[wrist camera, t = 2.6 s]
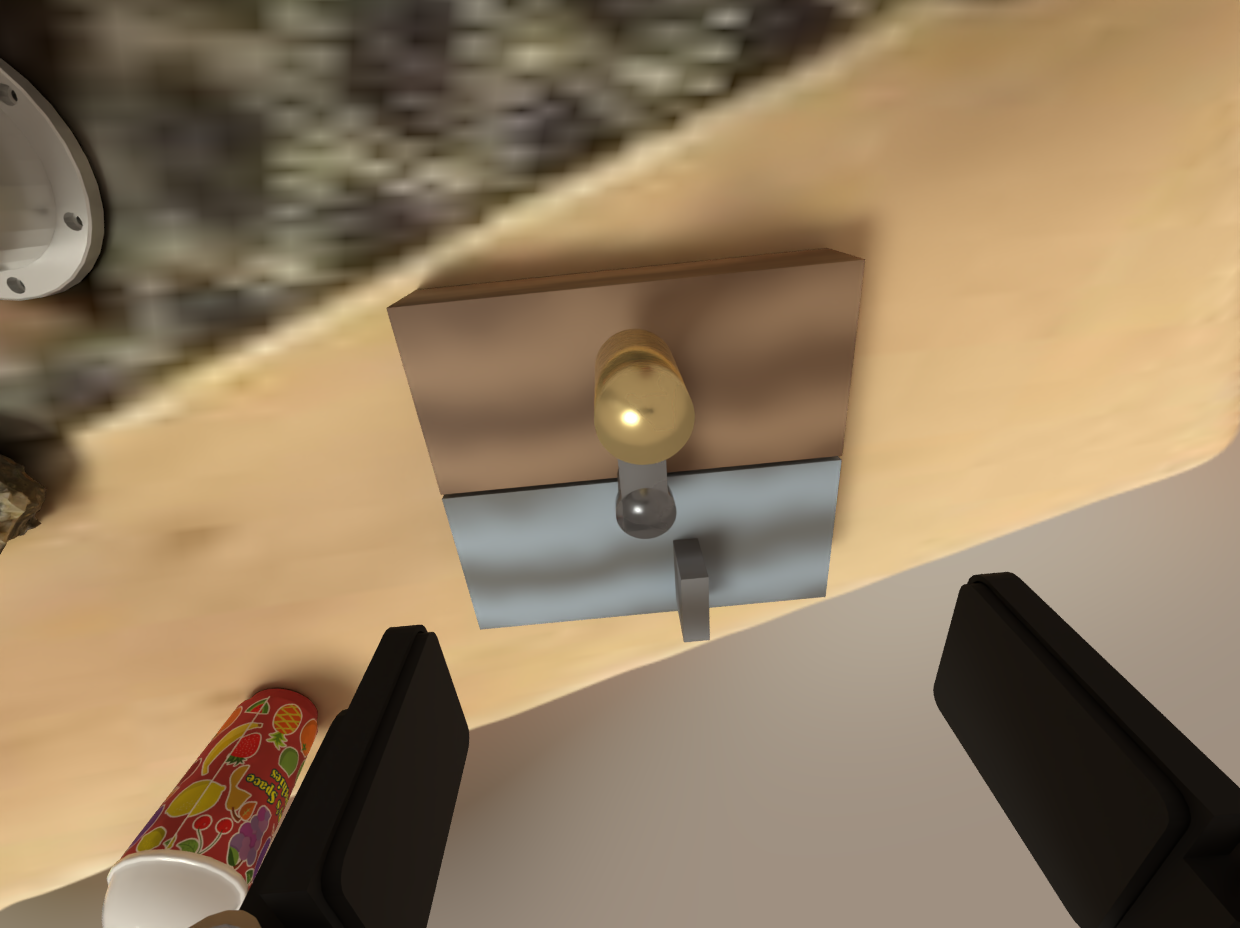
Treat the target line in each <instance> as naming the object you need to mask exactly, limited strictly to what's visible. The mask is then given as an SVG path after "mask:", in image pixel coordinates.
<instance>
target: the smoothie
mask: <svg viewBox="0 0 1240 928" xmlns="http://www.w3.org/2000/svg"><path fill="white" fill-rule="evenodd" d="M317 716H318V712H317V710H316V707H315V705H314V704H313V703H312V702H311V701H310V700H309V699H308V698H306V697H304V696H303V695H301V694H299V693H296V692H294V691H291V690H286V689H279V688H275V689H266V690H263V691H260V692H258V693H257V694H255V695H254V696H253V697H252V698H251V699H248V700H245V701H244V702H243V703H241V704H240V705H239V706H238V707H237V708H236V709H235V711H234V712H233V713H232V715H231V716H230V717H229V718H228V720H227V721H226V722H225V724H224V725H223V726H222V727H221V729H220V730H219V731H218V733H217V734H216V735H215V736H214V738H213V739H212V740H211V742H210V743H209V744H208V746H207V747H206V748H205V749H204V751H203V752H202V753H201V755H200V756H199V757H198V758H197V760H196V761H195V762H194V764H193V765H192V766H191V768H190V769H189V770H188V771H187V773H186V774H185V775H184V777H183V778H182V779H181V780H180V782H179V783H178V784H177V786H176V787H175V788H174V790H173V791H172V792H171V793H170V795H169V796H168V797H167V799H166V800H165V801H164V802H163V804H162V805H161V806H160V808H159V809H158V810H157V811H156V813H155V814H154V815H153V817H152V818H151V819H150V821H149V822H148V823H147V824H146V826H145V827H144V828H143V830H142V831H141V832H140V833H139V835H138V836H137V837H136V839H135V840H134V841H133V843H132V844H131V845H130V846H129V848H128V849H127V850H126V852H125V853H124V855H123V856H122V857H121V859H120V860H119V861H117V862H116V863H115V864H114V866H113V867H112V868H111V870H110V872H109V874H108V876H107V882H108V889H107V893H106V896H105V900H104V904H103V908H102V925H103V928H189V927H190V926H192V925H194V924H195V923H197V922H199V921H200V920H202V919H204V918H206V917H207V916H210V915H213V914H216V913H219V912H223V911H226V910H239V909H240V907H241V905H242V903H243V901H244V899H245V897H246V895H247V893H248V891H249V889H250V887H251V885H252V883H253V881H254V878H255V876H256V874H257V872H258V869H259V867H260V865H261V862H262V860H263V858H264V855H265V853H266V851H267V848H268V846H269V843H270V841H271V839H272V837H273V834H274V832H275V830H276V827H277V825H278V823H279V820H280V818H281V816H282V813H283V811H284V809H285V807H286V804H287V802H288V800H289V797H290V795H291V793H292V790H293V788H294V786H295V783H296V781H297V779H298V776H299V774H300V772H301V769H302V767H303V765H304V762H305V760H306V758H307V755H308V753H309V751H310V748H311V746H312V744H313V742H314V739H315V737H316V735H317V733H318V724H317V722H316V721H317Z"/></svg>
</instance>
